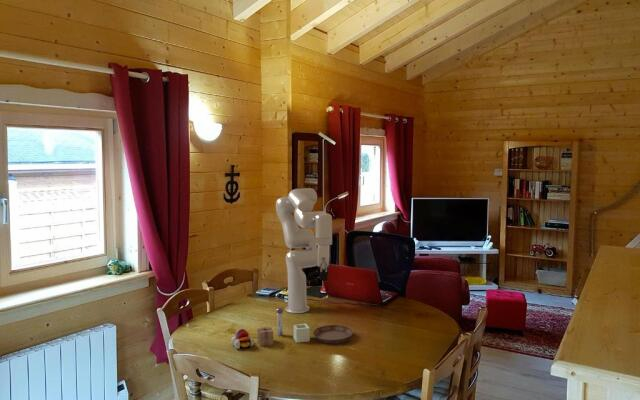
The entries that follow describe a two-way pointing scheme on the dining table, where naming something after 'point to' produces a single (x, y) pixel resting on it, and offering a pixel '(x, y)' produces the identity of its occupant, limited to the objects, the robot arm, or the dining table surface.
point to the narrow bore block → (265, 336)
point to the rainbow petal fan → (242, 339)
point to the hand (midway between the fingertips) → (324, 277)
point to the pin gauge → (279, 321)
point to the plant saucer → (333, 334)
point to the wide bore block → (301, 333)
